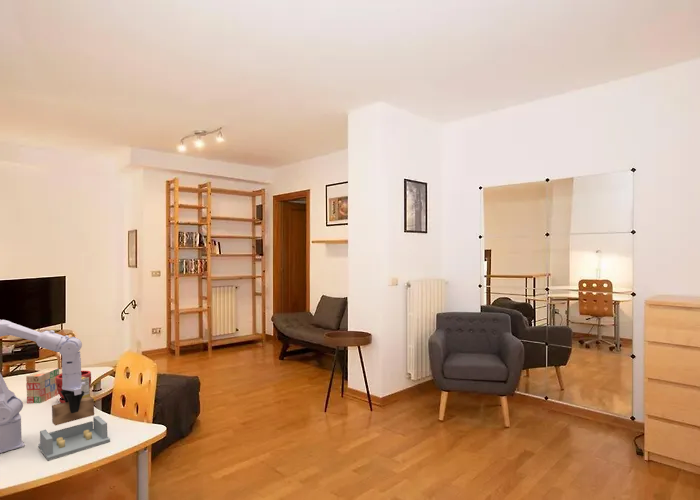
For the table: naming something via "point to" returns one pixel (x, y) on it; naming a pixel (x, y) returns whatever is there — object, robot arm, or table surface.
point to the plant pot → (59, 383)
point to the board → (64, 414)
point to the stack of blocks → (42, 385)
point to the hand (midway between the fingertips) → (72, 410)
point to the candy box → (85, 386)
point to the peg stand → (73, 439)
